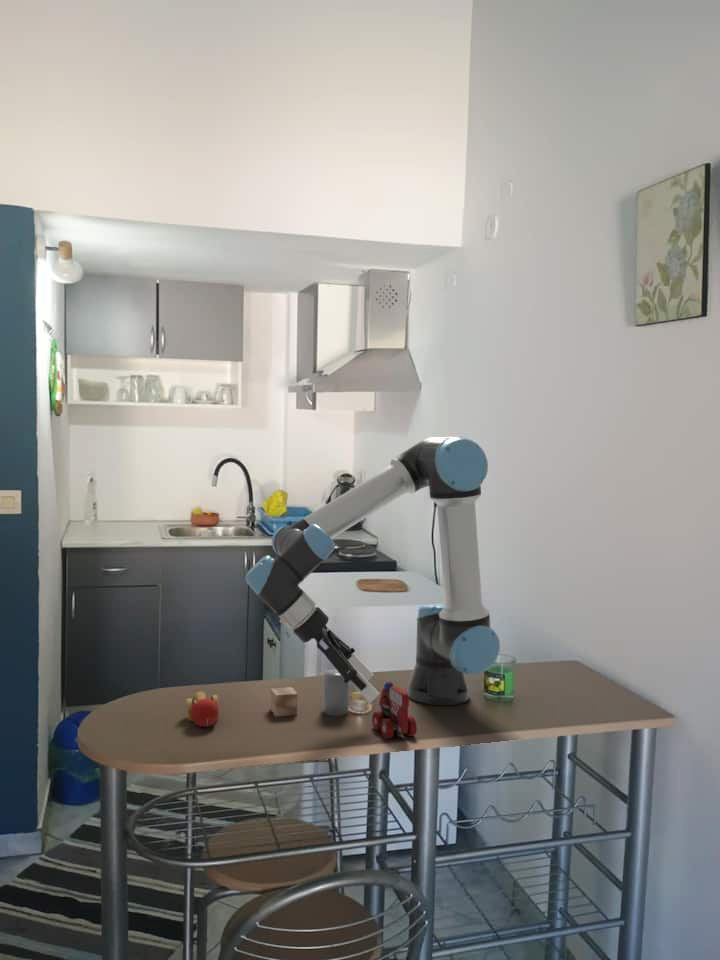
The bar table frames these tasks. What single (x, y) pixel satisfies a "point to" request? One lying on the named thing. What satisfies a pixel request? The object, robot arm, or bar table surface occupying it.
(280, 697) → the light brown cube
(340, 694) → the light grey cylinder
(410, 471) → the robot arm
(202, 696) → the kendama
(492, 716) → the bar table surface
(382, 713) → the toy fire truck
